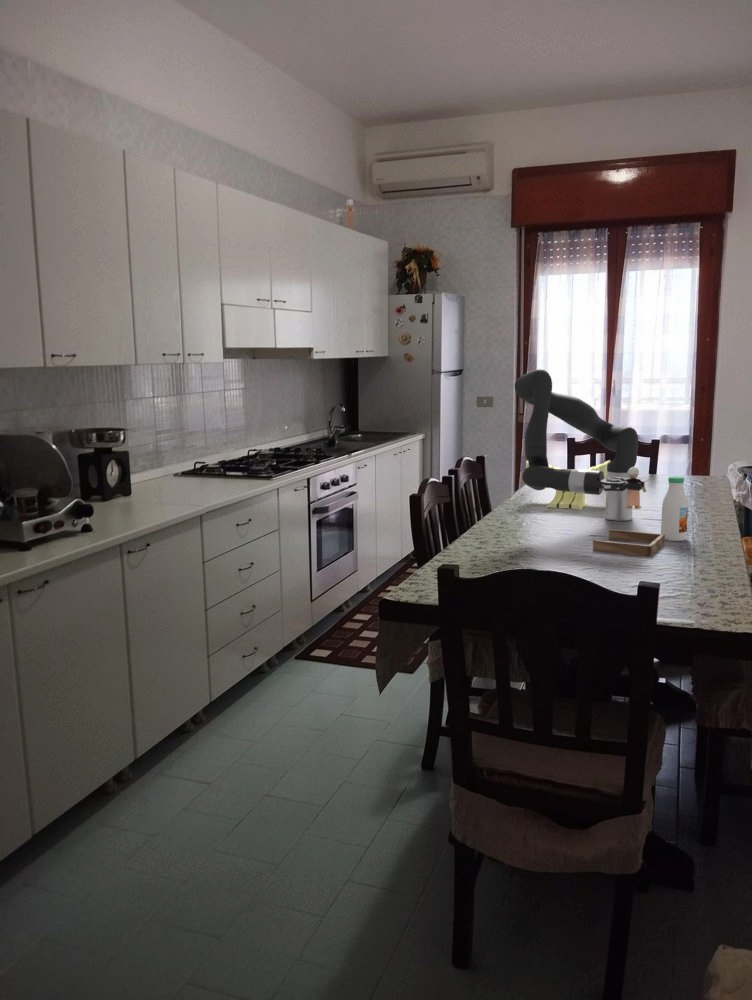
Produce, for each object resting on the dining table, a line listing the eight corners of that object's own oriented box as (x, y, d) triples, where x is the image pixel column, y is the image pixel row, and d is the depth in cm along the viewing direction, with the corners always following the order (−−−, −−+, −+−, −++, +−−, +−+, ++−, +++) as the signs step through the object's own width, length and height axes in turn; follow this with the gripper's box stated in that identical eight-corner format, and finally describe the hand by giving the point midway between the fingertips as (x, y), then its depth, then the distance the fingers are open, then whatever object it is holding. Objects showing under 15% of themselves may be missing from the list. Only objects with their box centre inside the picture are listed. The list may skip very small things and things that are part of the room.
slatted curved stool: (609, 503, 315) (610, 458, 312) (603, 510, 301) (605, 464, 298) (534, 499, 327) (535, 456, 324) (525, 506, 313) (525, 461, 310)
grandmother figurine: (642, 506, 244) (644, 465, 242) (646, 509, 240) (648, 467, 238) (617, 506, 244) (619, 466, 242) (620, 509, 240) (622, 467, 238)
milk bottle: (670, 542, 249) (673, 479, 245) (655, 537, 256) (658, 476, 253) (691, 540, 251) (694, 478, 247) (676, 535, 258) (679, 474, 255)
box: (609, 538, 256) (610, 529, 256) (664, 543, 247) (664, 534, 247) (592, 550, 241) (593, 540, 241) (650, 556, 232) (650, 546, 232)
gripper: (579, 472, 242) (637, 476, 233) (593, 467, 253) (649, 470, 244) (578, 497, 243) (636, 502, 234) (592, 490, 255) (647, 494, 246)
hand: (642, 486), depth 239 cm, fingers closed on grandmother figurine, 3 cm apart
